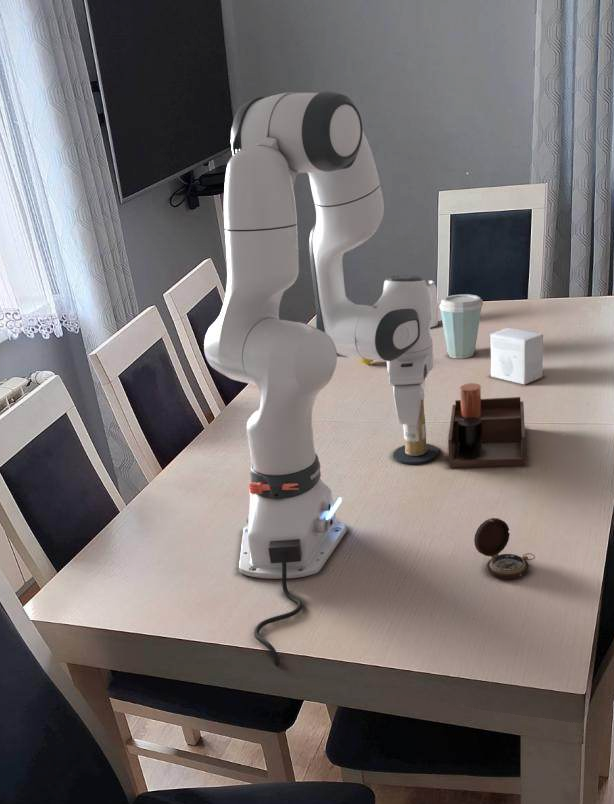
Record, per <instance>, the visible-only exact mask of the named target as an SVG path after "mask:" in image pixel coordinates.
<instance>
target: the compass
mask: <svg viewBox="0 0 614 804" xmlns="http://www.w3.org/2000/svg"><path fill="white" fill-rule="evenodd" d="M509 531H510V527H509V525H508V524H507V523H506V522H505V521H504V520H502V519H500V518H498V517H492V518H488V519H486V520H484V521H483V522H481V524H479V526H478V528H477V529H476V531H475V533H474V539H473V542H474V547H475V550H476V551H477V552H478V553H480V554H481V555H483V556H486V557H491V559H489V560H488V562H487V564H486V568H487V572H488V573H489V574H490V575H492V577H495V578H498V579H503V580H513V579H518V578H521V577H522V576H524V575H526V574H527V572H528V571H529V563H528V561H532V560H534V559H535V558H536V555H535V554H534V553H528V552H527V553H524V554H523V555H522V557H521V556H519V555H517V554H514V553H501V552H503V550H504V549H505V548H506V547H507V545H508V542H509V541H510V536H511V535H510V532H509ZM500 553H501V554H500ZM527 555H530V556H531V555H532V556H533V557H532V558H529V557H528V556H527Z"/></svg>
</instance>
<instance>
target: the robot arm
mask: <svg viewBox="0 0 614 804" xmlns="http://www.w3.org/2000/svg"><path fill="white" fill-rule="evenodd" d="M363 129H364V127H363V120H362V117H361V114H360V112H359V110H358V107H356V104H355V103H354V102H353V100H352V99H351V98H350V97H349V96H348V95H346V94H343V93H340V92H335V91H327V90H324V91H321V92H298V91H288V92H282V93H277V94H274V95H269V96H259V97H256V98H253V99H251V100H249V101H247V102H245V103H244V104H242V105H241V106H240V107H239V108H238V109H237V111H236V112H235V115H234V117H233V120H232V125H231V130H230V146H231V153H232V156H231V157H230V159H229V160H228V162H227V165H226V169H225V177H224V187H223V189H224V190H223V224H224V226H223V227H224V238H225V239H224V241H225V255H226V258H225V259H226V286H225V287H226V288H225V294H224V299H223V302H222V307H221V310H220V313H219V315H218V316H217V318H216V319H215V321H213V322H212V323H211V325H210V326H209V327H208V329H207V332H206V333H205V336H204V342H203V343H204V344H203V346H204V347H203V350H204V351H203V352H204V356H205V359H206V361H207V363H208V364H209V366H210V367H211V368H212V369H214V371H217V372H218V373H219V374H220V375H221V374H222V375H223V376H225V377H226V378H229V380H233V381H236V382H240V383H245V384H249V385H253V386H256V387H257V388H258V390H259V394H260V403H259V408H258V409H256V410H255V411H254V412H253V413H252V414H251V415H250V416H249V418H248V420H247V421H246V427H245V429H246V430H245V431H246V436H247V442H248V448H249V454H250V455H249V456H250V460H251V463H250V468H249V469H250V472H249V477H250V479H249V480H250V483H249V490H248V494H249V504H248V505H249V506H248V517H247V518H246V523H247V525H245V526H244V527H243V530H242V538H241V545H240V546H241V547H240V555H239V563H238V570H239V573H240V574H242V575H244V576H247V577H251V578H257V579H258V578H259V579H271V580H273V579H277V580H278V579H280V580H281V586H282V587H281V588H282V591H283V594H284V595H285V596H286V598H287V599H288V600H290V601H291V602H293V603H295V604H297V606H296V608H295V609H293V610H291V611H289V612H286V613H283V614H279V615H276V616H273V617H269V618H266V619H264V620H262V621H260V622H259V623H258V624H257V625H256V626H255V629H254V631H253V635H254V638H255V639H256V640H257V641H258V642H259V643H261V644H262V645H263V646H265V647H266V648H267V649H268V651H269V652H270V653H271V655H272V659H273V662H274V665H275V667H279V666H280V665H281V662H280V658H279V654H278V652H277V651H276V649H275V647H274V646H273V645H272V644H271V643H270V642H269V641H268V640H267V639H265V638H263V636H261V635H260V631H261V629H262V628H263V627H265V626H267V625H269V624H271V623H275V622H278V621H282V620H286V619H289V618H291V617H294V616H296V615H297V614H299V613H300V612H301V610H302V609H303V605H304V604H303V601H302V600H300V599H299V598H297V597H296V596H293V595H292V594H291V593H290V592H289V589H288V583H287V582H288V580H287V579H297V578H304V577H309V576H312V575H315V574H318V573H319V572H320V571H321V570H322V568H323V567H324V565H325V564H326V562H327V560H329V558H330V557H331V555H332V553H333V552H334V550H335V549H336V547H337V546H338V544H339V543H340V542H341V540H342V539H343V537H344V536H345V535H346V533H347V527H346V525H345V524H344V522H343V523H342V522H340V521H337V516H336V510H337V509H338V507H339V506H340V504H342V497H340V496H339V497H338V499H337V500H336V502H335V503H334V499H333V494H332V489H331V488H330V487H329V486H328V485H327V484H326V483H325V482H324V481H323V479H322V478H321V477H322V474H321V463H320V460H319V456H318V454H317V453H316V447H315V438H314V425H313V413H314V412H313V411H314V406H315V403H316V400H317V397H318V395H319V393H320V392H321V391H322V390H324V389H325V387H327V386H328V384H329V383H330V382H331V380H332V379H333V377H334V375H335V373H336V370H337V364H338V358H352V359H353V358H354V359H358V358H360V359H367V360H370V359H371V360H374V361H377V362H386V370H387V373H388V383H389V384H388V385H390V386H392V391H393V392H392V393H393V401H394V406H395V413H396V418H397V421H398V424H400V425H403V424H407V427H408V433H409V434H416V433H417V430H418V427H417V422H418V419H419V414H420V409H421V403H422V402H421V388H423V389H424V390H426V389H425V388H426V378H427V377H428V374H429V373H430V372H431V371H432V370H433V369H434V365H435V363H434V343H433V338H432V335H431V330H430V329H431V328H430V325H431V306H430V298H429V292H428V288H427V285H426V282H425V281H426V280H425V279H424V278H422V277H421V276H416V275H393V276H389V277H387V278H385V279H384V282H383V287H382V288H383V289H382V294H381V295H380V297H379V299H378V300H377V301H375V303H373V304H372V305H369V304H357V303H354V302H353V301H351V300H350V299H349V298H348V297H347V295H346V286H345V276H344V274H345V273H344V264H343V258H344V254H345V253H347V252H350V251H352V250H354V249H356V248H357V247H359V246H361V245H362V244H364V243H365V242H367V241H368V240H369V239H370V238H372V236H374V234H375V233H376V232H377V230H378V229H379V228H380V226H381V224H382V222H383V218H384V214H385V213H384V211H385V203H384V202H385V201H384V196H383V191H382V186H381V182H380V177H379V172H378V168H377V165H376V161H375V159H374V155H373V151H372V149H371V147H370V144H369V141H368V138H367V136H366V134H365V132H364V130H363ZM298 174H307V175H308V178H309V184H310V190H311V195H312V199H313V204H314V209H315V224H314V225H313V226H312V229H311V230H310V234H309V241H308V249H309V251H308V252H309V260H310V271H311V276H312V277H311V278H312V286H313V295H314V302H315V303H314V305H315V326H312V325H310V324H308V323H305V322H302V321H301V322H300V321H294V320H287V319H281V318H280V314H279V313H280V305H281V301H282V299H283V298H282V297H283V295H284V294H285V291H287V290H288V289H289V288H291V287H292V286H293V285H294V284H295V283H296V281H297V279H298V277H299V274H300V262H299V259H300V258H299V240H298V238H299V237H298V236H299V235H298V217H297V215H298V214H297V205H296V197H295V190H294V189H295V188H294V186H295V182H296V178H297V176H298ZM294 804H297V802H296V801H294Z"/></svg>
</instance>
